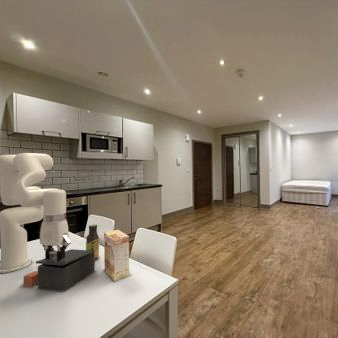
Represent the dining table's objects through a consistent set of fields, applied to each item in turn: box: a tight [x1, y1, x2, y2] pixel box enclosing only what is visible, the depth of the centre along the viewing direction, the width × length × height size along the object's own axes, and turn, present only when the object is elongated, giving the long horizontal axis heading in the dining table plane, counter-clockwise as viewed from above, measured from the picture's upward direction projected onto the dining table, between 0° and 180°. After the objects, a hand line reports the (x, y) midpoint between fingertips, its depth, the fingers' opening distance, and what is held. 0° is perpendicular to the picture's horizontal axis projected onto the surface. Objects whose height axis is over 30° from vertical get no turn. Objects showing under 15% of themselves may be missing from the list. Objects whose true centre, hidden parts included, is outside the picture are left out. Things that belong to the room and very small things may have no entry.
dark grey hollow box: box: [37, 253, 96, 292], centre depth 90 cm, size 16×14×10 cm
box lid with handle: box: [35, 248, 95, 266], centre depth 90 cm, size 16×14×5 cm
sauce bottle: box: [85, 223, 100, 261], centre depth 110 cm, size 7×6×20 cm
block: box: [23, 270, 38, 288], centre depth 87 cm, size 4×4×4 cm
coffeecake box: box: [103, 229, 130, 282], centre depth 96 cm, size 15×7×20 cm, turn 47°
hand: (55, 258), depth 84 cm, fingers closed on box lid with handle, 5 cm apart
